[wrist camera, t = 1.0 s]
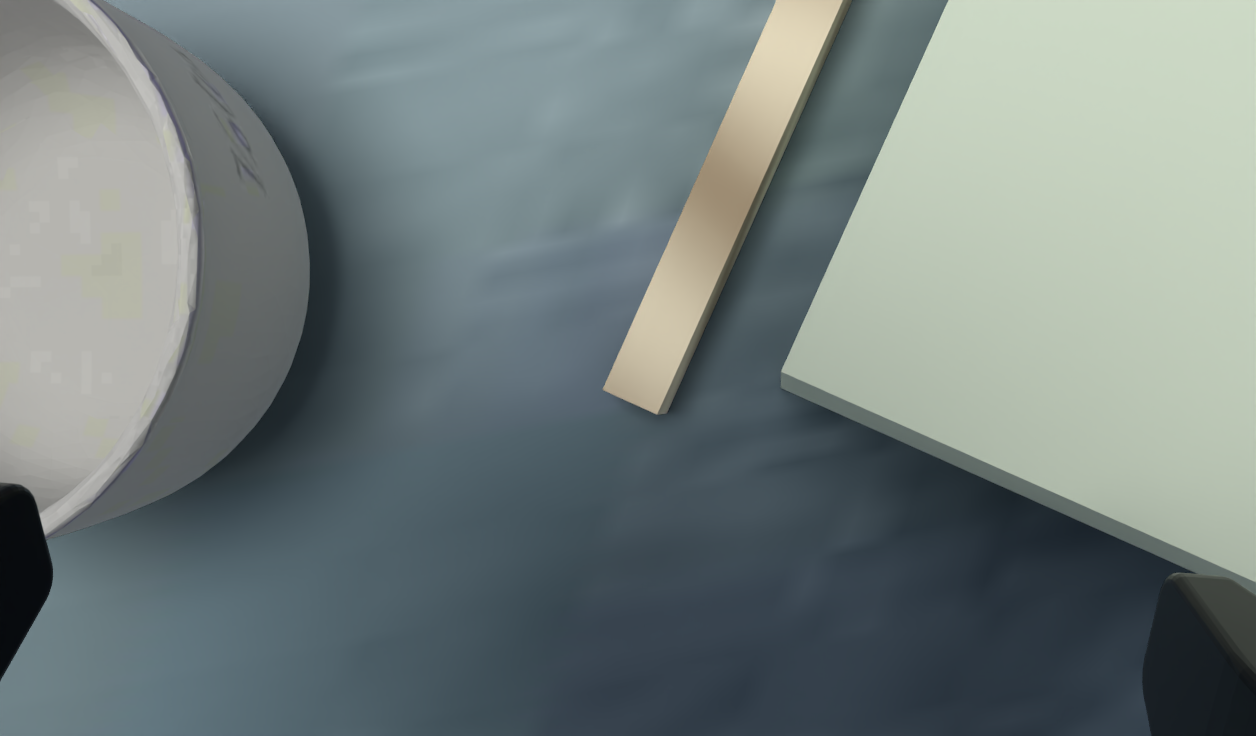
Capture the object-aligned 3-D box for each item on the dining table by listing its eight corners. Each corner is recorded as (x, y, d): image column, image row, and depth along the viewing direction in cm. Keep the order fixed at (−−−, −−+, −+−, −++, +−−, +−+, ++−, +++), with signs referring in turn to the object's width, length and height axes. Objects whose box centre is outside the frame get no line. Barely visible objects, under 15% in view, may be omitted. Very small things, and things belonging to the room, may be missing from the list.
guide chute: (1413, 752, 23) (1544, 826, 19) (616, 390, 25) (586, 388, 21) (1882, -244, 22) (2120, -382, 18) (1024, -523, 25) (1071, -701, 21)
